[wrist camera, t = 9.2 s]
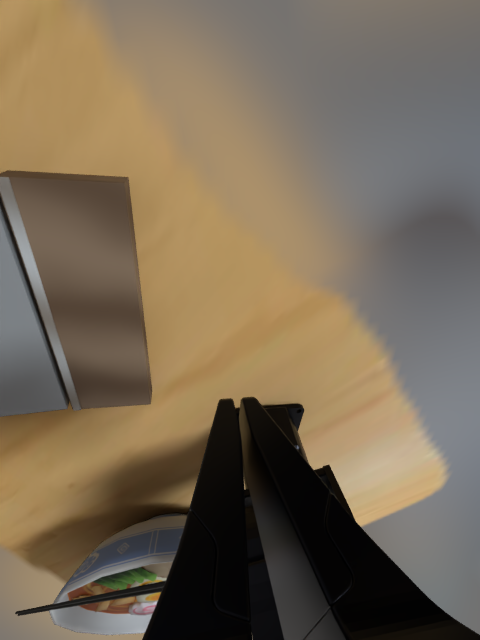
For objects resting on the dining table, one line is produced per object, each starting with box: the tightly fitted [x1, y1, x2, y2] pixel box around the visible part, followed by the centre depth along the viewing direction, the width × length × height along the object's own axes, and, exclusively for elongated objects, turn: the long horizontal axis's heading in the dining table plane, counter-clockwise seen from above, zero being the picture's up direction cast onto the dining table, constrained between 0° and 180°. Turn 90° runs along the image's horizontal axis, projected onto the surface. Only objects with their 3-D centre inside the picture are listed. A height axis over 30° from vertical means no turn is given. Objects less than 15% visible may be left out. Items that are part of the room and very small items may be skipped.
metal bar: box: [0, 171, 152, 410], centre depth 20 cm, size 16×6×2 cm, turn 175°
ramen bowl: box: [15, 513, 187, 635], centre depth 36 cm, size 25×23×8 cm
